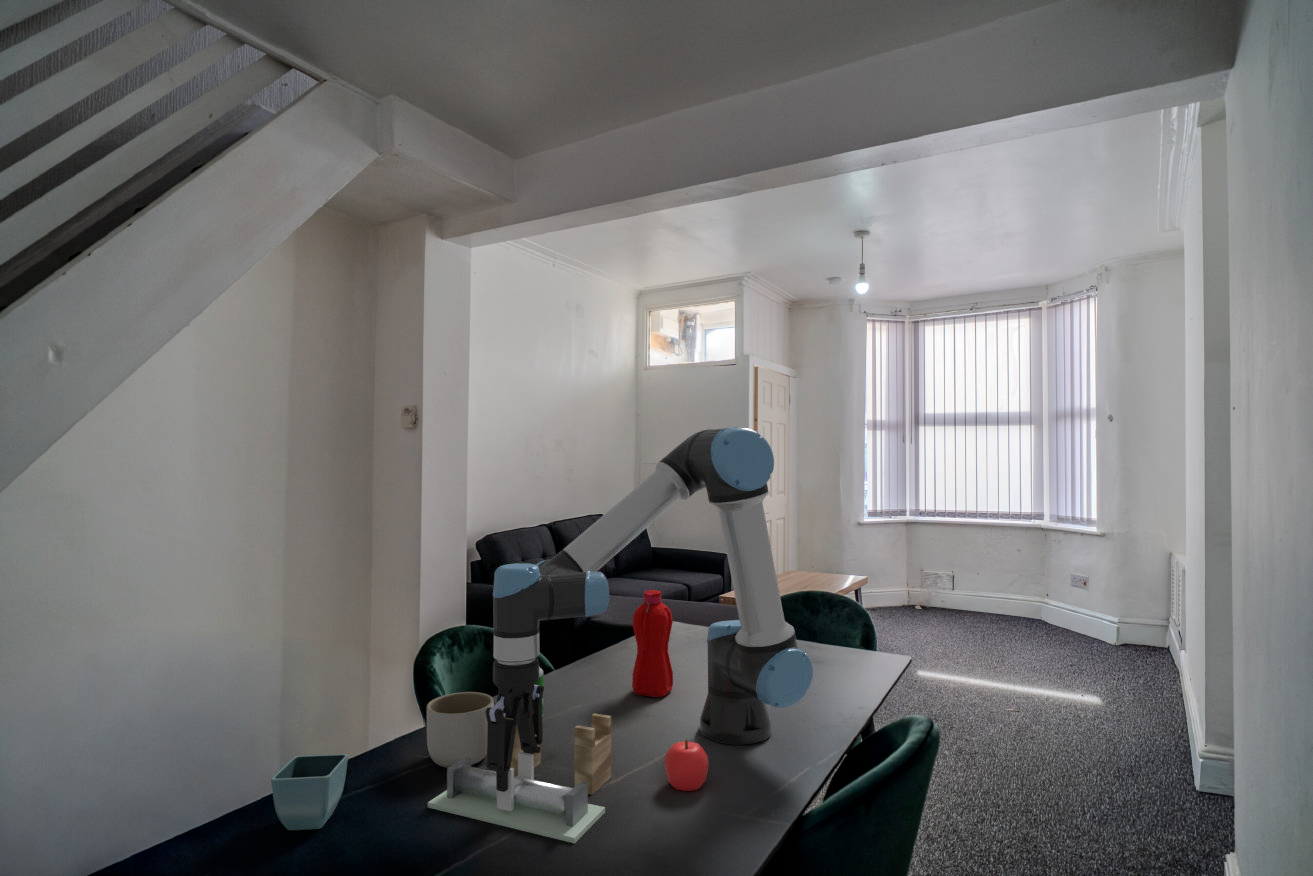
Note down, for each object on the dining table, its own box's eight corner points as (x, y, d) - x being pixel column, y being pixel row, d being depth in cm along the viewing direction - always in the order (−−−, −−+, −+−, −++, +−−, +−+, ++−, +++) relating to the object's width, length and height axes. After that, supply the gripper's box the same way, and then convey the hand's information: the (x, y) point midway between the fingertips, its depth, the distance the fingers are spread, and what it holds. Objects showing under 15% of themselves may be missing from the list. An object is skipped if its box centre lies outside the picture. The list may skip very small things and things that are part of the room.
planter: (432, 780, 125) (432, 718, 126) (421, 754, 136) (421, 698, 137) (500, 765, 131) (500, 707, 131) (484, 742, 142) (484, 688, 142)
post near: (611, 777, 126) (611, 716, 126) (592, 794, 120) (592, 730, 120) (594, 773, 128) (594, 713, 128) (574, 791, 121) (574, 727, 121)
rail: (587, 812, 112) (587, 782, 112) (572, 827, 108) (572, 795, 108) (465, 785, 122) (465, 757, 122) (447, 797, 117) (447, 768, 117)
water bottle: (625, 698, 168) (625, 594, 169) (643, 684, 178) (642, 586, 179) (660, 703, 165) (660, 596, 165) (676, 688, 175) (676, 588, 176)
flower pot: (293, 810, 115) (294, 755, 115) (348, 807, 115) (349, 753, 116) (268, 839, 106) (269, 779, 106) (328, 836, 107) (329, 777, 107)
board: (605, 812, 114) (605, 807, 114) (574, 843, 104) (574, 838, 104) (466, 781, 125) (466, 777, 125) (427, 807, 115) (427, 802, 115)
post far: (540, 763, 132) (540, 704, 132) (519, 779, 125) (519, 717, 126) (525, 760, 133) (525, 702, 134) (502, 776, 127) (503, 715, 127)
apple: (664, 775, 127) (664, 731, 127) (708, 775, 127) (708, 731, 127) (663, 796, 119) (663, 749, 119) (710, 797, 119) (709, 749, 119)
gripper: (527, 643, 125) (527, 773, 124) (462, 671, 108) (461, 822, 108) (563, 647, 122) (563, 781, 121) (502, 677, 105) (502, 832, 105)
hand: (515, 800), depth 115 cm, fingers open, 5 cm apart
